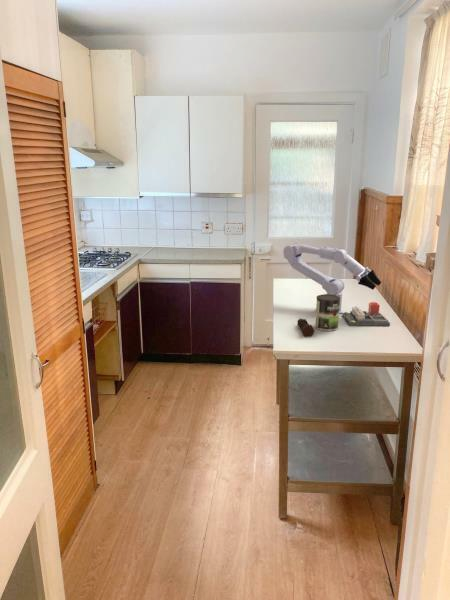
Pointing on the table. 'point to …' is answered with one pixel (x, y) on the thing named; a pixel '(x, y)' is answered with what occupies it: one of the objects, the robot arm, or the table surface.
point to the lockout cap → (373, 307)
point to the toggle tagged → (360, 315)
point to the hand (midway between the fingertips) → (377, 286)
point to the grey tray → (366, 319)
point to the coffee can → (327, 312)
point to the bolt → (305, 328)
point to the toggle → (355, 310)
